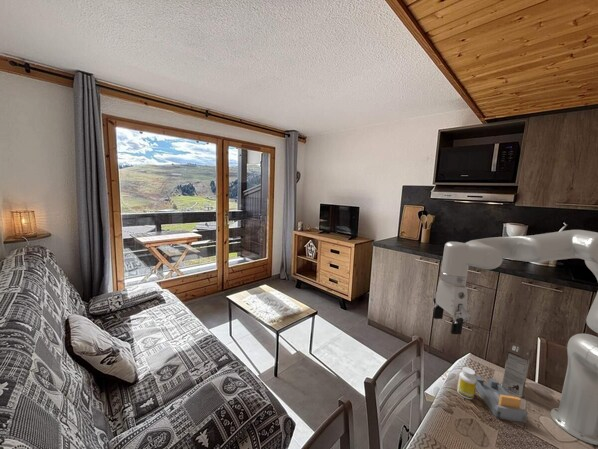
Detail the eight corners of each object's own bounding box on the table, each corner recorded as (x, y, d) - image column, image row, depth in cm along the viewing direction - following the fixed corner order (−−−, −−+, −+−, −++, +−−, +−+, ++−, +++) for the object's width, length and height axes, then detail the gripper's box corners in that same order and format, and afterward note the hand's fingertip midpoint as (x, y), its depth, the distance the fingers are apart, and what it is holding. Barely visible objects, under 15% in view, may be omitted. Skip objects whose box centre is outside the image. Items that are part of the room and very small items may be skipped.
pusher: (502, 397, 92) (505, 382, 91) (518, 416, 84) (521, 399, 84) (485, 394, 93) (488, 379, 92) (499, 412, 85) (501, 396, 84)
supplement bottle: (476, 401, 91) (480, 377, 90) (460, 398, 92) (464, 374, 91) (469, 389, 96) (473, 366, 95) (454, 387, 97) (457, 364, 96)
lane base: (496, 386, 99) (497, 377, 98) (525, 422, 83) (527, 412, 82) (471, 382, 100) (473, 373, 99) (496, 417, 84) (497, 407, 84)
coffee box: (504, 377, 104) (510, 341, 102) (525, 386, 99) (532, 349, 97) (500, 388, 98) (507, 350, 96) (522, 398, 93) (529, 359, 91)
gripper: (483, 288, 76) (475, 340, 78) (447, 270, 93) (441, 313, 95) (460, 288, 75) (452, 340, 77) (427, 269, 92) (422, 313, 94)
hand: (446, 325), depth 86 cm, fingers open, 9 cm apart
